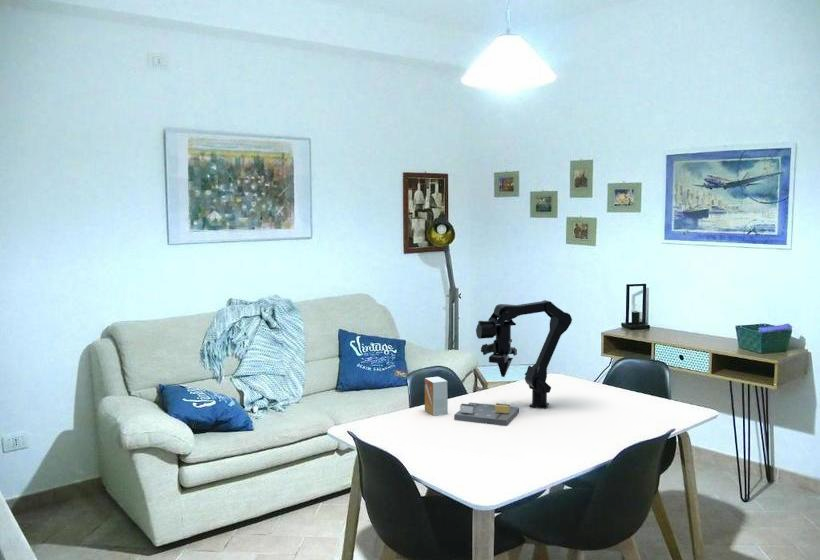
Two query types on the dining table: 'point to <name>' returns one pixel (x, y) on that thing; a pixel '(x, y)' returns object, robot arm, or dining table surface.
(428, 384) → the small box
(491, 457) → the dining table surface
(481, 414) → the mixing board
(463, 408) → the block
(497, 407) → the amber fader
